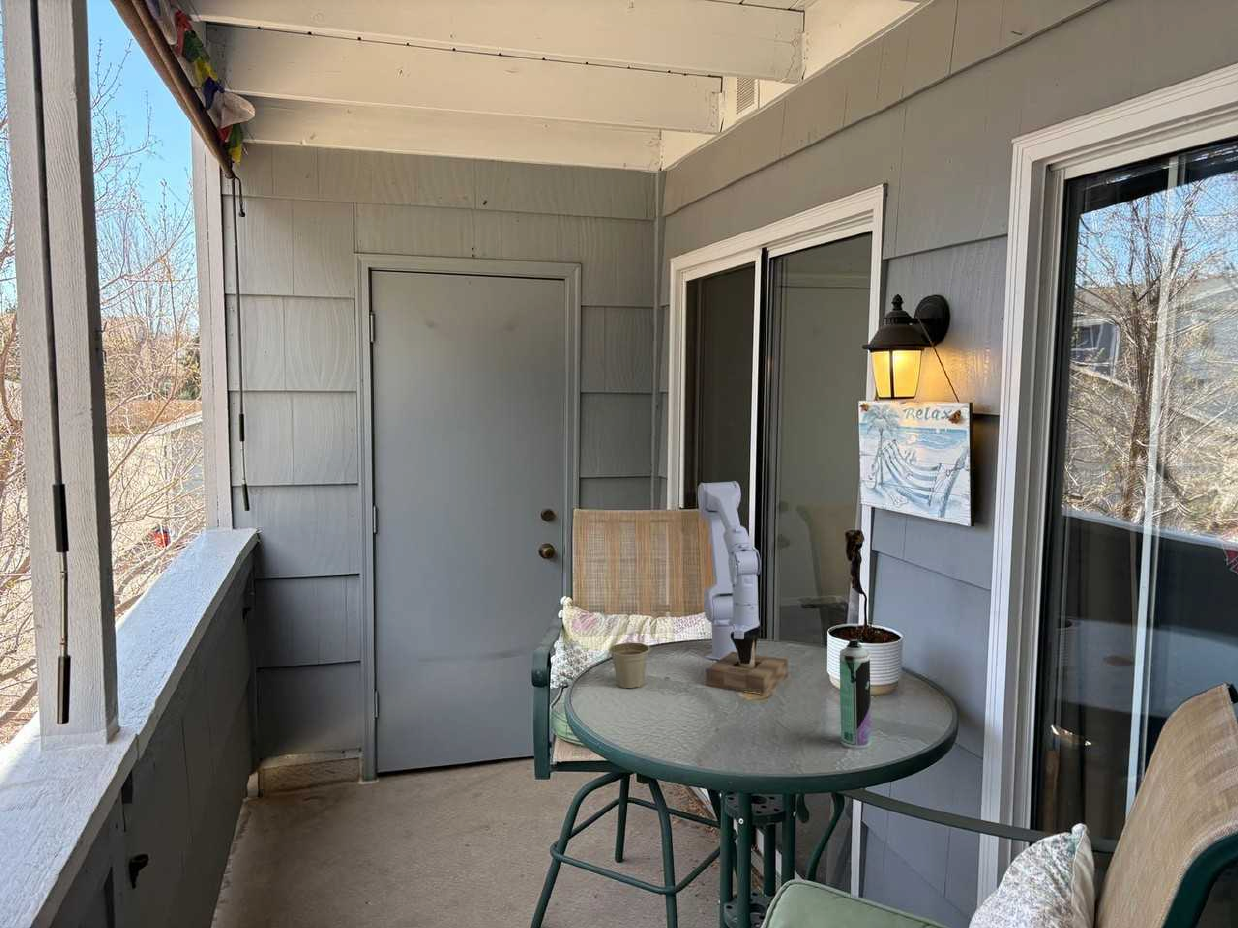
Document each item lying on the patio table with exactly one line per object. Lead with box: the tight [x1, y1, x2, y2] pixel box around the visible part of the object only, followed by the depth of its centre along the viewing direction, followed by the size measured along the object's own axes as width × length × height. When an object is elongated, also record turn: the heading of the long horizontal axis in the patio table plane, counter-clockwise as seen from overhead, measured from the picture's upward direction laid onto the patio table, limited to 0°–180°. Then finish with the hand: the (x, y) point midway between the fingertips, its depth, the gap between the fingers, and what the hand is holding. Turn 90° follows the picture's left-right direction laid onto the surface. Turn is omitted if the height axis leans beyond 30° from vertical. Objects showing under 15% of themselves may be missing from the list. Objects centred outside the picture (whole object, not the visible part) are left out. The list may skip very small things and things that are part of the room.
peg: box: [739, 642, 756, 669], centre depth 194 cm, size 4×4×8 cm
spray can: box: [839, 638, 872, 750], centre depth 158 cm, size 6×6×20 cm
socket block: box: [705, 652, 789, 694], centre depth 195 cm, size 14×14×4 cm
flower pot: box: [608, 641, 651, 689], centre depth 195 cm, size 9×9×9 cm
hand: (747, 660), depth 194 cm, fingers closed on peg, 4 cm apart
